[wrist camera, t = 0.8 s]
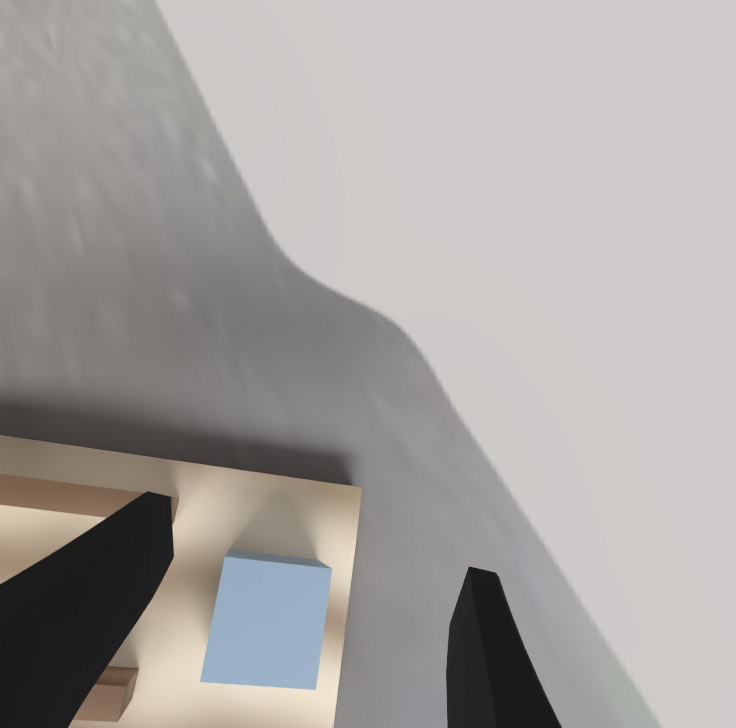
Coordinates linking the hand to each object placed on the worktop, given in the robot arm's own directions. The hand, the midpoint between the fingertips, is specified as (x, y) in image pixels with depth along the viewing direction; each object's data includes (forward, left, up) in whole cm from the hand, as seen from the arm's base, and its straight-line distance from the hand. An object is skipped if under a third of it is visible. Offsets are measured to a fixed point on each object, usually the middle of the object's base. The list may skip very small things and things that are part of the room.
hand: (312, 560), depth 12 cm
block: (-3, 0, -14) cm, 14 cm away
